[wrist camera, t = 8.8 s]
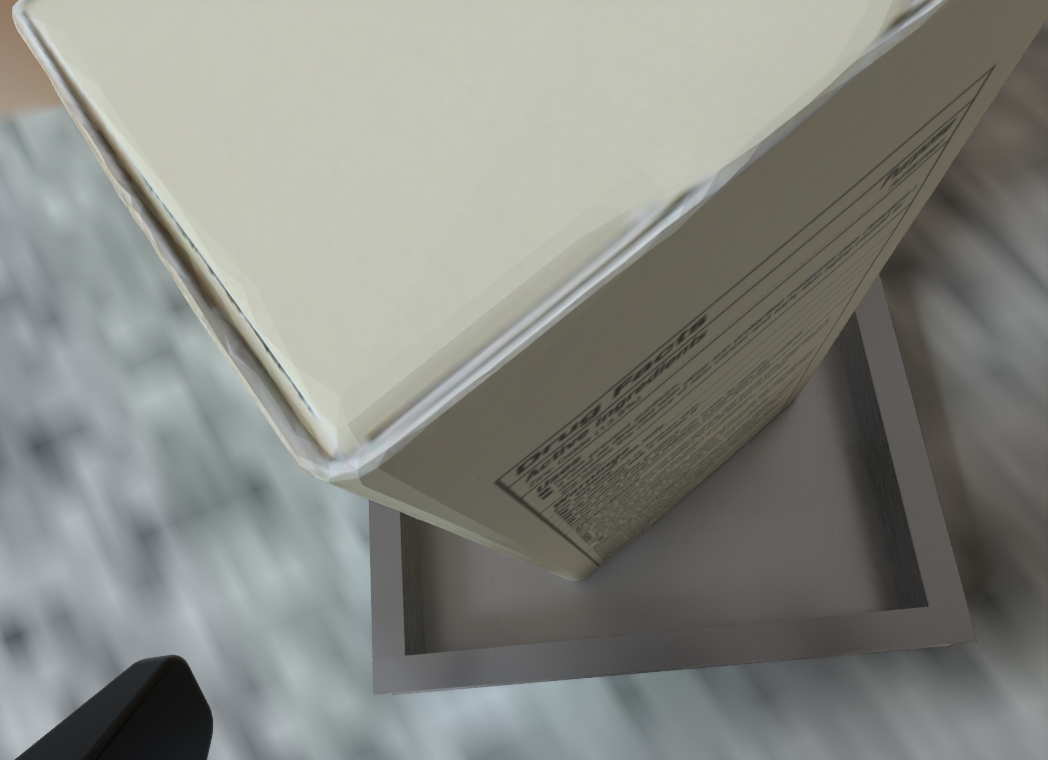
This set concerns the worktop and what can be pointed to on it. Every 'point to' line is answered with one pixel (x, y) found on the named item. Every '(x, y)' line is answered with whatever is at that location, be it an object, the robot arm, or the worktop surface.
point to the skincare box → (525, 221)
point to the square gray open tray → (705, 556)
